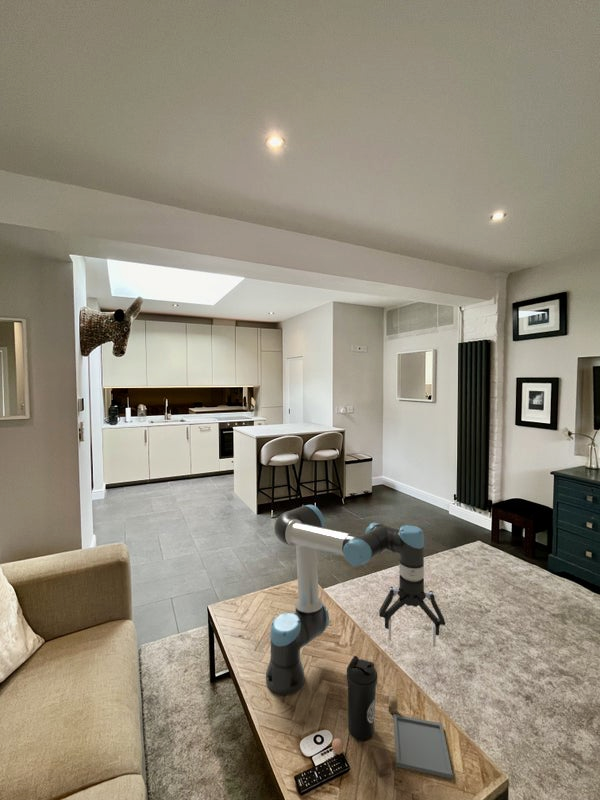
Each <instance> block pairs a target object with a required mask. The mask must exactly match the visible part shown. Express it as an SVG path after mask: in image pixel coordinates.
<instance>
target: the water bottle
mask: <svg viewBox="0 0 600 800" xmlns="http://www.w3.org/2000/svg"><path fill="white" fill-rule="evenodd" d="M346 679H347V713H348V715H347V718H348V719H347V720H348V722H347V723H348V725H347V726H348V727H347V728H348V731H349V735H350V736H351V737H352V738H353V739H354V740H355V741H358V742H363V743H364V742H368V741H370V740H371V739H372V738H373V736H374V733H375V732H374V731H375V715H376V714H375V713H376V700H377V699H376V696H377V695H376V693H377V684H378V671H377V670H376V668H375V662H372V661H368V660H366V659H362V658H361V659H359V656H357V655H354V656H353V657H352V659H351V661H350V662H349V664H348V666H347V667H346Z"/></svg>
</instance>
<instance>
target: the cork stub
mask: <svg viewBox="0 0 600 800" xmlns="http://www.w3.org/2000/svg"><path fill="white" fill-rule="evenodd" d="M398 701H399V699H398V697H397V696H395V695H389V697H388V713H389V714H390V715H392V716H393V714H396V715H398Z"/></svg>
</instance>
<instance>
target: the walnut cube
mask: <svg viewBox="0 0 600 800" xmlns="http://www.w3.org/2000/svg"><path fill="white" fill-rule="evenodd" d="M374 765H375V768H376V772H377V774H378V777H379V778H381V777H382V778H384V777H389V776H392V775H393V760H392V758H391V755H390V752H389V750H388V748H384V749H377V750H374Z"/></svg>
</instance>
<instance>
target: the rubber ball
mask: <svg viewBox="0 0 600 800" xmlns="http://www.w3.org/2000/svg"><path fill="white" fill-rule="evenodd" d="M331 749H332V750H333V751H332V752H334V754H336V755H341V754H342V752H343V751H344V743H343V740H341V738H339V737H338V738H334V739H333V740H332V744H331Z"/></svg>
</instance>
